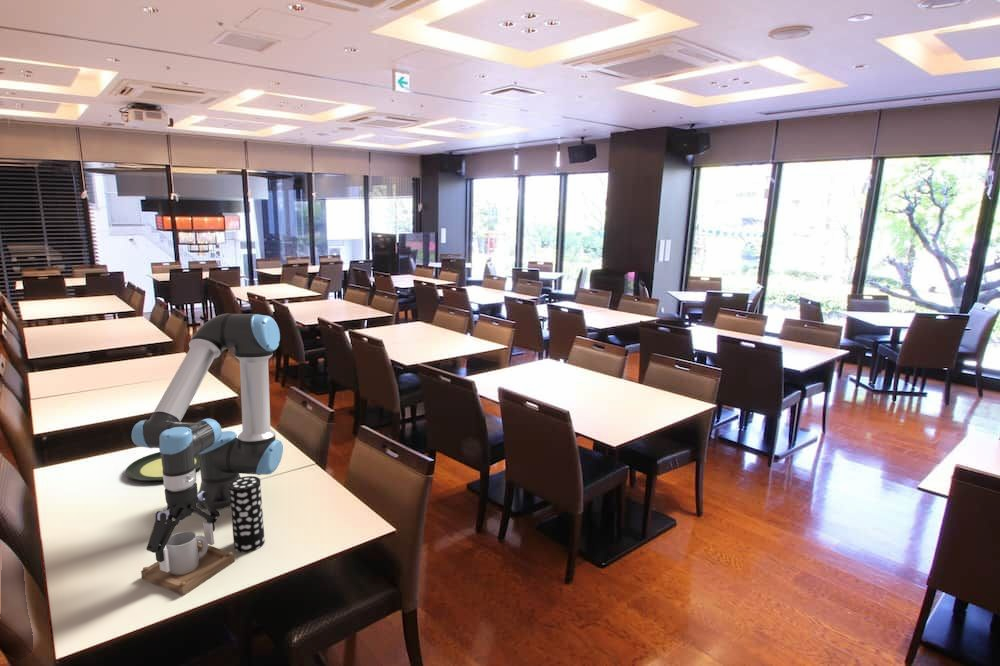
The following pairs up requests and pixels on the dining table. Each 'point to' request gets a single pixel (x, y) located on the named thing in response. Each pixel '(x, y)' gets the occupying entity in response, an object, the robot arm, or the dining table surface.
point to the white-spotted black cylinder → (247, 513)
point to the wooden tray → (185, 583)
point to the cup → (185, 552)
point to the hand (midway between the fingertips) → (188, 556)
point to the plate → (150, 468)
